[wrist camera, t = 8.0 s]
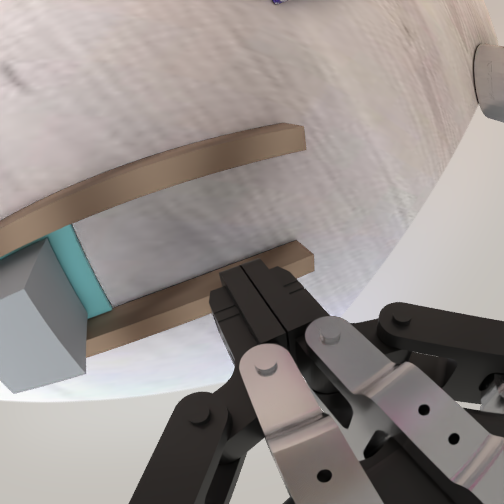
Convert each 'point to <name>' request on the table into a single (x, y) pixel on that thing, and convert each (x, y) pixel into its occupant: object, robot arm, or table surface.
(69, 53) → the table surface
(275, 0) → the supplement box
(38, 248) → the block
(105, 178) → the wooden u-shaped frame
